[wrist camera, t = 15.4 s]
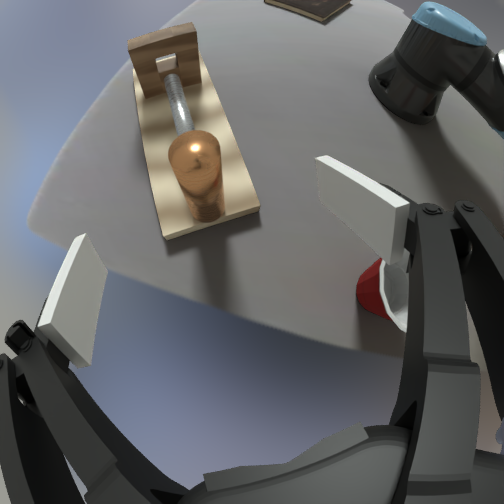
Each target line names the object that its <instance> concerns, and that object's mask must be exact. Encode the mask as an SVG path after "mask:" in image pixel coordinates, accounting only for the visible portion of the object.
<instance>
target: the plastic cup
mask: <svg viewBox="0 0 504 504" xmlns="http://www.w3.org/2000/svg"><path fill="white" fill-rule="evenodd" d="M409 255H410V252H409V251H407V250H406V249H405V248H404V252H403V258H402V260H400V261H398V262H396V263H394V264H392V265H388V264H387V263H386V262H385V261H384V260H383V259H382V258H380V259H378V260H377V261H376V262H375V263H374V264H373V265H372V266H371V267H369V268H368V269H367V270H366V271H365V272H364V273H363V274H362V275H361V276H360V278H359V280H358V283H357V289H356V294H357V297H358V300H359V302H360V304H361V305H362V306H363V307H364V308H365V309H366V310H368V311H370V312H372V313H374V314H377V315H379V316H381V317H383V318H386V319H388V320H391V321H393V322H394V323H395V324H396V325H397V326H398V328H399V329H400V330H402V331H405V332H406V331H407V317H408V293H409V272H408V273H406V270H407V265H408V260H409Z"/></svg>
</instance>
